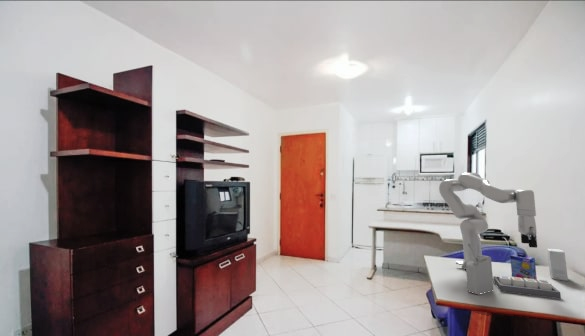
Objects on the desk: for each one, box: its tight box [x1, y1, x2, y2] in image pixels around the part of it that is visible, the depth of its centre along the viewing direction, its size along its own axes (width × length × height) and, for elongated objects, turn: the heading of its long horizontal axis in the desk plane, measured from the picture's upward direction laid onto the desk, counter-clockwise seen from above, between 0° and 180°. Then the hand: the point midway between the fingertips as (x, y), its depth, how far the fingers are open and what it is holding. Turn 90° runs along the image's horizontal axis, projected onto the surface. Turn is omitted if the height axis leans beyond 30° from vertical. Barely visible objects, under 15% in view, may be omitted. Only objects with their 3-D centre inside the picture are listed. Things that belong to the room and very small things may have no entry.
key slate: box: [498, 275, 511, 285], centre depth 138 cm, size 4×5×3 cm
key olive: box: [523, 278, 538, 288], centre depth 133 cm, size 4×5×3 cm
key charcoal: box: [535, 278, 553, 290], centre depth 131 cm, size 4×5×3 cm
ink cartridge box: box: [509, 251, 538, 281], centre depth 150 cm, size 10×6×14 cm, turn 29°
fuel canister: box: [465, 244, 494, 295], centre depth 134 cm, size 15×5×25 cm, turn 113°
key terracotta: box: [510, 276, 525, 287], centre depth 136 cm, size 4×5×3 cm
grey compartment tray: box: [492, 275, 562, 300], centre depth 134 cm, size 23×14×3 cm, turn 63°
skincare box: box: [546, 248, 569, 282], centre depth 149 cm, size 8×7×16 cm
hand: (529, 245), depth 139 cm, fingers open, 9 cm apart
